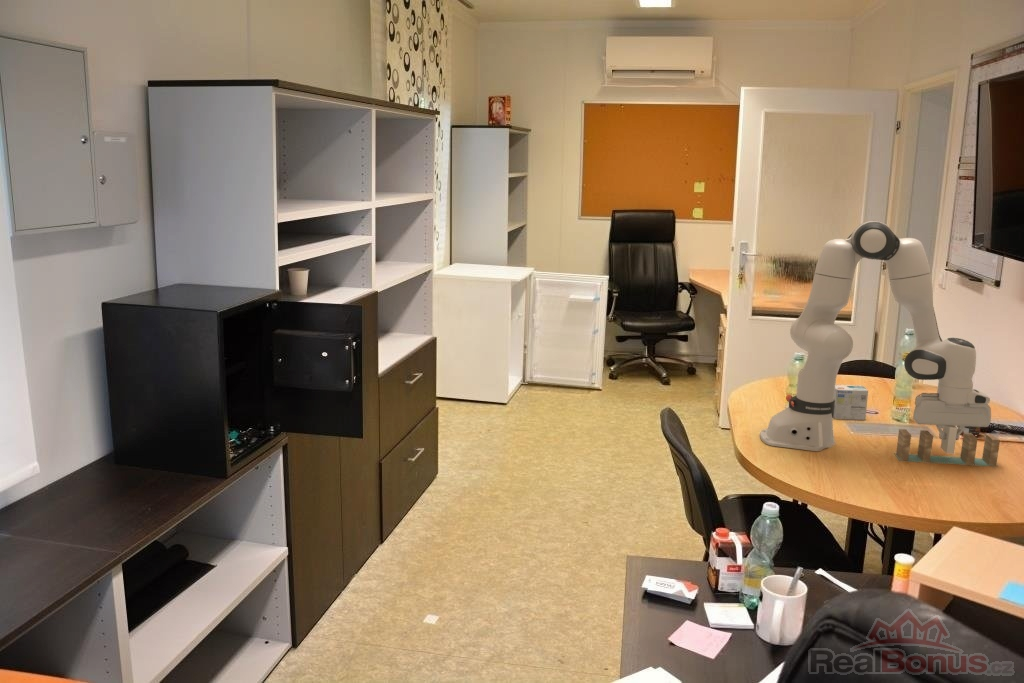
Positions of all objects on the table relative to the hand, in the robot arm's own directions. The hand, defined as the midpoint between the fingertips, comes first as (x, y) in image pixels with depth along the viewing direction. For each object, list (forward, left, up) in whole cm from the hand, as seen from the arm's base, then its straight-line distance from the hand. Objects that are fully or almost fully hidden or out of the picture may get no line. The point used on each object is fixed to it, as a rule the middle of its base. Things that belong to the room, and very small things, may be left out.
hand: (948, 439), depth 237 cm
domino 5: (+12, 0, -7) cm, 13 cm away
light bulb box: (-19, +39, -7) cm, 44 cm away
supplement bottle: (+16, +27, -7) cm, 32 cm away
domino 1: (-12, 0, -7) cm, 14 cm away
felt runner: (0, 0, -7) cm, 7 cm away
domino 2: (-6, 0, -7) cm, 9 cm away
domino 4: (+6, 0, -7) cm, 9 cm away
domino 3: (0, 0, -4) cm, 4 cm away
